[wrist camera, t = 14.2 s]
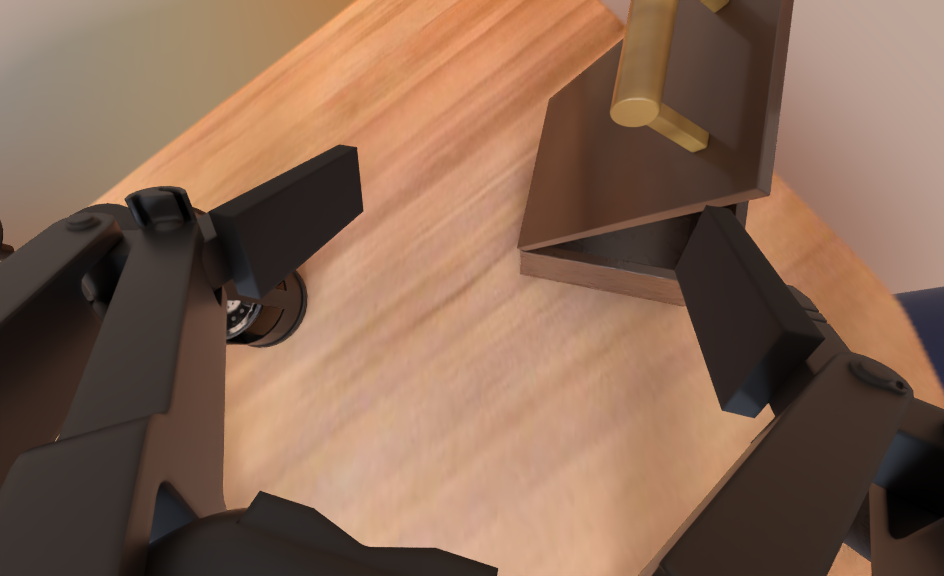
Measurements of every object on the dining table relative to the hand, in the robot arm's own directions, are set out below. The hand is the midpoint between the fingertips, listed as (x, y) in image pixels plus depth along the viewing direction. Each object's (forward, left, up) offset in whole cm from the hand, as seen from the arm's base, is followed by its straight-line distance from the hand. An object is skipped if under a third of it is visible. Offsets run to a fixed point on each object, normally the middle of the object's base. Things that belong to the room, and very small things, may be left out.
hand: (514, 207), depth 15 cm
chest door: (-3, -9, -7) cm, 12 cm away
